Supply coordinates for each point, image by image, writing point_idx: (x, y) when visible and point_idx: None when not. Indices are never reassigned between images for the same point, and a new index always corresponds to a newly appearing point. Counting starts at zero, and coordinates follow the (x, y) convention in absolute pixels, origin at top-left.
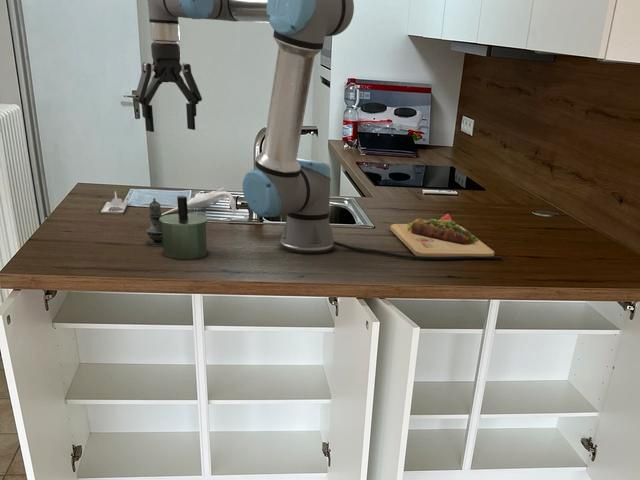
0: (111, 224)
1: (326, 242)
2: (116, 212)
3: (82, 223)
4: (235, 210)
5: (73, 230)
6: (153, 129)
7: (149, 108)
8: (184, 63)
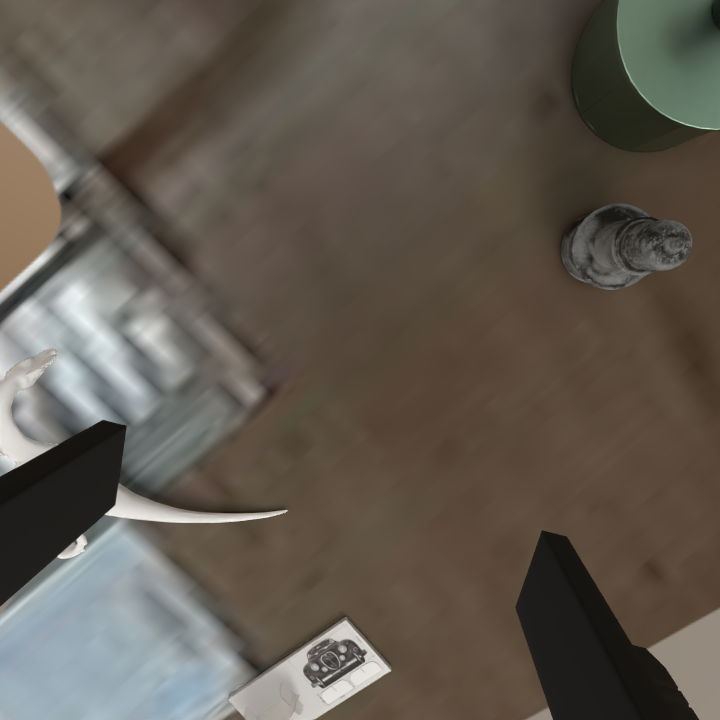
0: (484, 544)
1: None
2: (358, 633)
3: None
4: (44, 351)
5: (629, 571)
6: (553, 541)
7: (667, 709)
8: None
